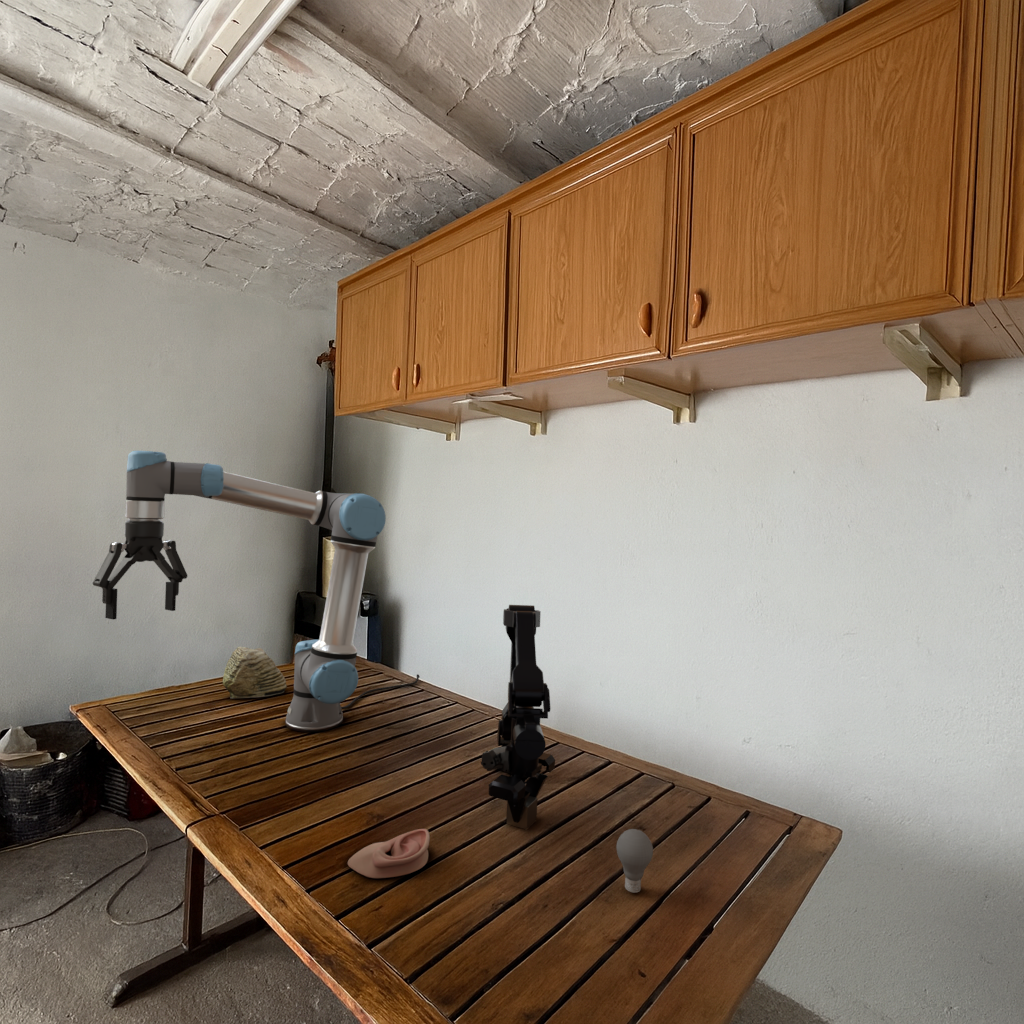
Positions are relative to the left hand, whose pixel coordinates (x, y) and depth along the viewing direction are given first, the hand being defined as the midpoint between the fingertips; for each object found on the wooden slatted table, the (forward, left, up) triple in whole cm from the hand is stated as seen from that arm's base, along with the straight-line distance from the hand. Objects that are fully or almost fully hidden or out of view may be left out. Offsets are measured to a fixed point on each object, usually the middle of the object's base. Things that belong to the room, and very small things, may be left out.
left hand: (141, 614), depth 142 cm
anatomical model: (-15, +69, -35) cm, 79 cm away
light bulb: (-36, +106, -35) cm, 117 cm away
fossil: (-46, -31, -35) cm, 65 cm away
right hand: (-42, +78, -34) cm, 95 cm away
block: (-42, +78, -35) cm, 95 cm away
